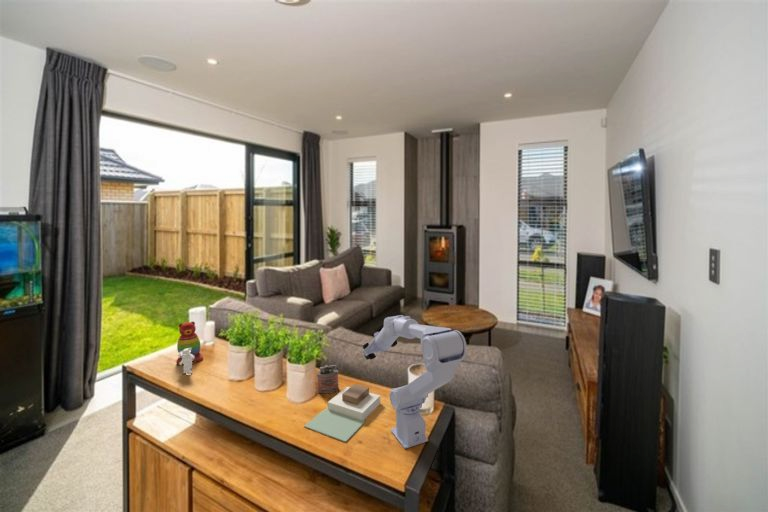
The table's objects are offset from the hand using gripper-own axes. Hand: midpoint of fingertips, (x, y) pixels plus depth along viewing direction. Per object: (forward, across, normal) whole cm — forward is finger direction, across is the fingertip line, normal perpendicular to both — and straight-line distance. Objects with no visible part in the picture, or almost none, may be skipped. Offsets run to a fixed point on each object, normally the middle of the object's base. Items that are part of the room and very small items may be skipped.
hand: (374, 352), depth 124 cm
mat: (+4, +23, +13) cm, 27 cm away
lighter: (+21, +15, 0) cm, 26 cm away
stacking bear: (+63, +51, -50) cm, 96 cm away
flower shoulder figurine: (+51, +54, -40) cm, 85 cm away
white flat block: (+10, +13, +11) cm, 20 cm away
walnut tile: (+8, +12, +9) cm, 17 cm away
